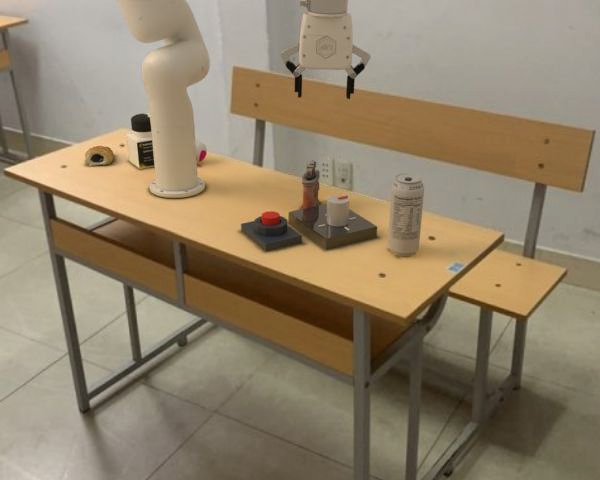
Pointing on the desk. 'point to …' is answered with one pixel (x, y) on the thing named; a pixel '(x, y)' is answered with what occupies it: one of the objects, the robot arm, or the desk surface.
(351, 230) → the grey dial base plate
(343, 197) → the knob
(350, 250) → the desk surface
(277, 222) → the power button
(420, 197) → the energy drink can
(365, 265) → the desk surface
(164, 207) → the desk surface
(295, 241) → the control block
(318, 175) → the lighter
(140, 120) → the medicine bottle
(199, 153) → the stress ball
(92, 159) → the pastry
